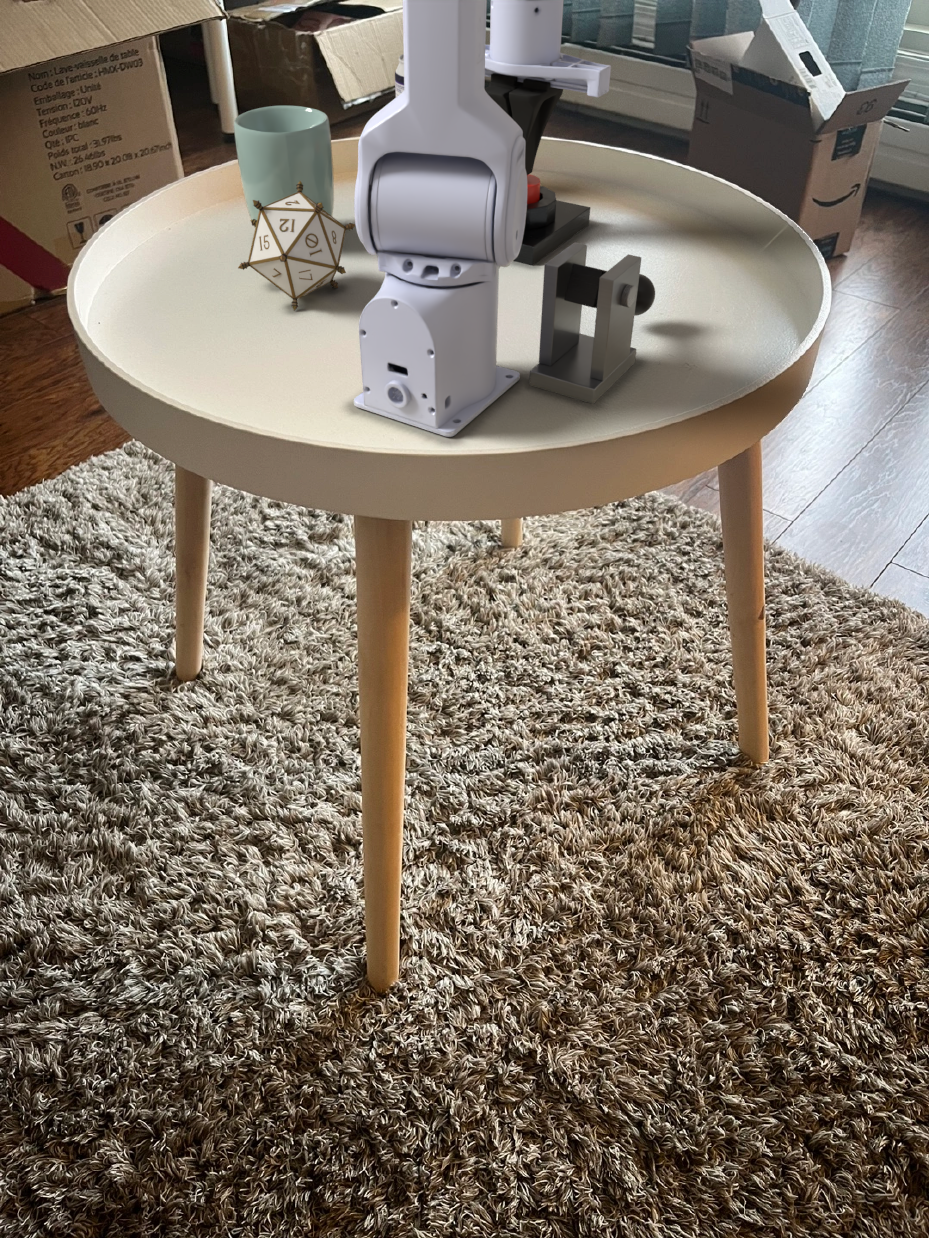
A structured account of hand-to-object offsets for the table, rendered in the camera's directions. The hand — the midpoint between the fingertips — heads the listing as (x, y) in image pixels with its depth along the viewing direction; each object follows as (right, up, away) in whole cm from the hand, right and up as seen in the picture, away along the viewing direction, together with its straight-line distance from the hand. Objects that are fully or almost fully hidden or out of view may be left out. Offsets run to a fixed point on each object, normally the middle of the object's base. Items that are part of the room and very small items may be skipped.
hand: (520, 174), depth 87 cm
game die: (-18, -13, -6) cm, 23 cm away
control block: (0, -4, +4) cm, 5 cm away
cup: (-20, -5, +3) cm, 21 cm away
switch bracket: (+4, -21, -16) cm, 27 cm away
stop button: (0, -2, +2) cm, 2 cm away
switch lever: (+5, -17, -16) cm, 24 cm away
